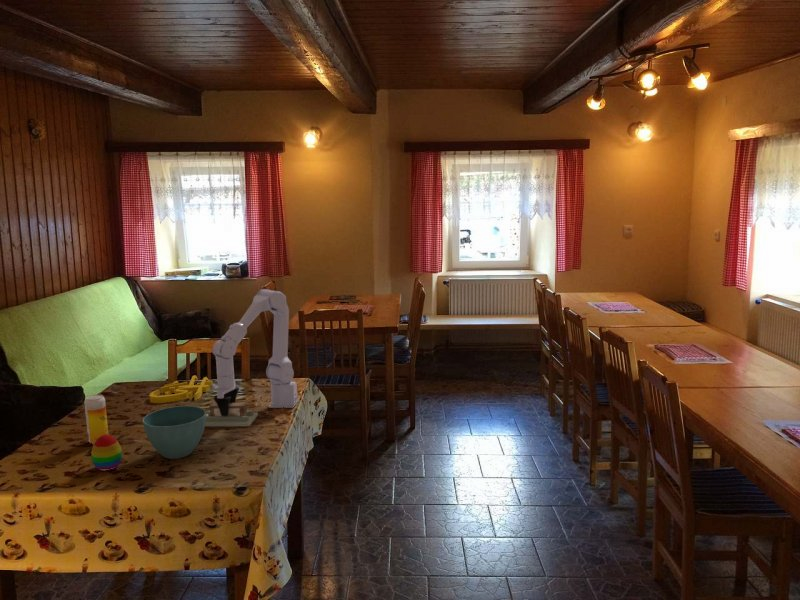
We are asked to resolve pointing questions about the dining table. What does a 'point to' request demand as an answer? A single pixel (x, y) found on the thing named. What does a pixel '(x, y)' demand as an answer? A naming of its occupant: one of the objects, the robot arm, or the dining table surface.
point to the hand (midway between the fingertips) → (228, 411)
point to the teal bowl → (175, 430)
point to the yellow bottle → (95, 417)
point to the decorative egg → (106, 452)
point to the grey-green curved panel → (231, 420)
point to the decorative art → (180, 391)
